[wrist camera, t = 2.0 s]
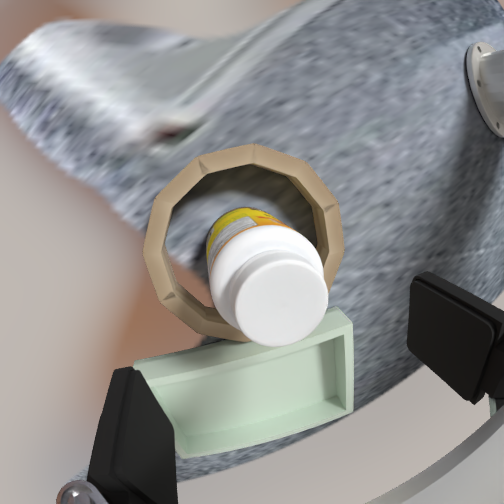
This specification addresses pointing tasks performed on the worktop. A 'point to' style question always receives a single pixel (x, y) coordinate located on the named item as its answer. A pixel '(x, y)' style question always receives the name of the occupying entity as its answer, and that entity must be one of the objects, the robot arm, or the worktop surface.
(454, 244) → the worktop surface
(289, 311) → the supplement bottle
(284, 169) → the collar
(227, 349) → the tray
